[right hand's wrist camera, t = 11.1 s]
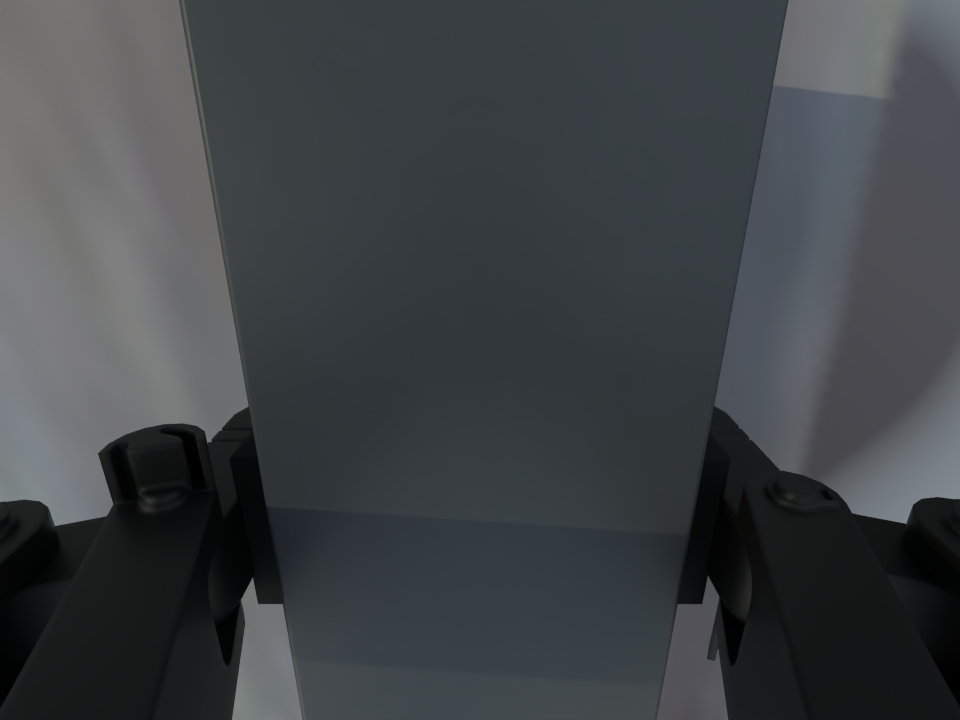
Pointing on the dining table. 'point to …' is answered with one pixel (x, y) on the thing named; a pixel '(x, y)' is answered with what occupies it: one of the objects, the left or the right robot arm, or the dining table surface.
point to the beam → (481, 328)
